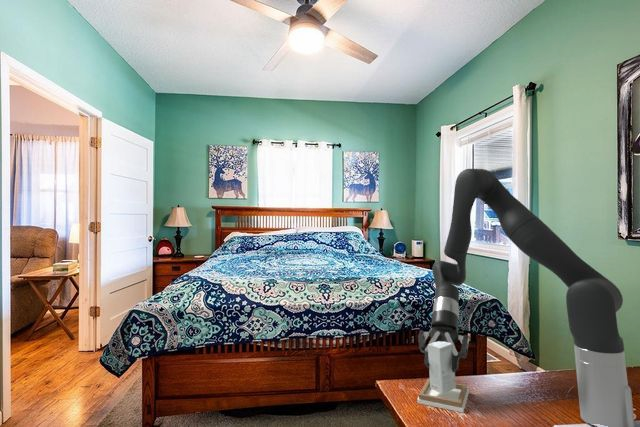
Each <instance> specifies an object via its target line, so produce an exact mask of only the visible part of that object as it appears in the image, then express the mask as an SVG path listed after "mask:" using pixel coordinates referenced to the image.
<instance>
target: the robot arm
mask: <svg viewBox="0 0 640 427" xmlns="http://www.w3.org/2000/svg"><path fill="white" fill-rule="evenodd" d="M454 185H455V186H454V192H453V194H454V195H453V203H452V212H451V220H450V221H451V223H450V226H449V231H448V235H447V239H446V241H445V246H444V250H443V252H444V255H445V256H446V257H448V258H449V259H452V260H453V261H455V262H456V263H453V262H448V261H445V260H439V261H437V262H436V263H434V265H433V266H432V267H433V268H432V276H433V282H434V284H435V298H434V303H433V307H432V315H431V316H432V317H431V324H430V329H429V331H424V330H423V329H421V330H419V331H418V332H419V335H418V339H419V340H418V348H419V350H420V353H421V354H424V359H423V362H424V365H425V366H426V368H427V369H429V358H428V345H427V346H426V340H427V339H428V337H430V340H429V342H428V344H431V343H433V342H438V341H444V342H448V343H452V344H453V345H452V352H453V356H452V372H455V373H456V371H458V370H459V363H460V362H459V360H460V359H463V360H465V359H467V356H468V350H469V345H470V339H469V336H468V334H464V335H461V334H459V332H458V331H459V330H458V329H459V319H460V310H459V309H460V308H459V307H460V306H459V301H460V292H459V291H460V290H459V289H458V286H461V285H463V284H465V281H466V278H467V268H466V262H467V254H468V250H469V247H470V244H471V240H472V235H473V233H472V232H473V231H472V223H471V218H472V217H471V213H472V209H473V206H474V203H475V201H476V199H479V200H481V201H482V202H483V203H484V204H486V205H487V207H489V208H490V209H491V210H492V211H493V212H494V214H495V216H496V217H497V219H498V222H499V223H500V226H501V229H502V231H503V233H504V234H505V235H506V237H507V238H508V239H509V240H510V241H511V242H512V244H514V245H515V246H516V247H517V248H518V249H519V250H520V251H521V252H522V253H524V255H526V256H527V257H529V258H530V259H532V260H533V261H535V262H536V263H538V264H540V265H541V266H543V267H544V268H546V269H547V270H549V271H550V272H552V274H554V275H555V276H557V278H558V279H560V280H561V282H562V283H564V285H565V286H566V287H567V288H568V289H567V292H566V295H565V299H566V300H565V301H566V302H565V303H566V313H567V322H568V327H569V331H570V334H571V336H572V338H573V345H574V346H573V347H574V348H573V349H574V359H575V370H576V381H577V382H576V383H577V391H578V392H577V393H578V402H579V411H580V412H579V413H580V418H581V420H583V422H585V423H586V424H588V423H591V424H600V425H604V426H608V427H635V426H636V425H635V417H634V416H635V415H634V407H633V405H634V404H633V396H632V389H631V387H630V386H629V382H628V375H627V364H626V356H625V354H626V353H625V344H624V339H623V338H622V337H621V335H620V333H619V328H618V327H619V326H618V320H617V312H618V311H620V309H621V308H622V306H623V302H624V299H623V295H622V292H621V290H620V288H618V286H616V284H614V283H613V282H612V281H611V280H609V279H608V278H607V277H606V276H604V275H603V274H601V273H600V272H599V271H597V270H596V269H595V268H593V266H592V265H590V264H588V263H587V262H586V261H584V260H583V259H582V258H581V257H580V256H578V255H577V254H576V252H574V251H573V250H572V248H571V247H570V246H568V245H567V243H566V242H564V241H563V240H562V238H560V236H558V235H557V234H556V233H555V232H554V231H553V230H552V229H551V228H550V227H549V226H548V225H547V224H546V223H545V222H543V221H542V219H540V218H539V217H538V216H537V215H535V213H533V212H532V211H531V210H529V208H527V207H526V205H525V204H523V203H522V202H521V201H520V200H519V199H517V198H516V197H515V196H513V194H511V192H510V191H509V190H508V189H507V188H506V187H505V186H504V185H503V183H502V182H501V181H500V180H499V179H498V178H497V176H495V174H494V173H492V172H491V171H489V170H487V169H484V168H467V169H464V170H462V171H460V172H459V174H458V175H457V177H456V180H455V183H454ZM458 341H460V343H461V348H460V351H457V349H456V346H455V344H456V343H457V342H458Z"/></svg>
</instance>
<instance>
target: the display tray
mask: <svg viewBox="0 0 640 427" xmlns="http://www.w3.org/2000/svg"><path fill="white" fill-rule="evenodd" d="M469 393H470V391H469V388H467V384H464V383H460V382H459V383H457V382H456V388H455V389H453V390H450V391H448V392H445V393H443V394H442V393H439V392H437V391H435V390H433V389H431V388H430V377H428V378H427V379H426V381H425V383H424V385H423V386H422V389H421V390H420V391H419V393H418V396H417V404H420V405H426V406H429V407H435V408H439V409H445V410H449V411H454V412H457V413H458V412H459V413H462V414H463V413H464V411H465V407H466V404H467V402H468V398H469Z"/></svg>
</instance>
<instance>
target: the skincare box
mask: <svg viewBox="0 0 640 427" xmlns="http://www.w3.org/2000/svg"><path fill="white" fill-rule="evenodd" d="M452 345H453V344H452V343H448V342H444V341H438V342H433V343H431V344H429V343H428V344H427V346H428V358H429V368H428V371H429V378H430V388H431V389H433V390H435V391H437V392H439V393H442V394H443V393H445V392H448V391H450V390H453V389H455V388H456V383H457V382H456V372H452V356H453V352H452Z"/></svg>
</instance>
